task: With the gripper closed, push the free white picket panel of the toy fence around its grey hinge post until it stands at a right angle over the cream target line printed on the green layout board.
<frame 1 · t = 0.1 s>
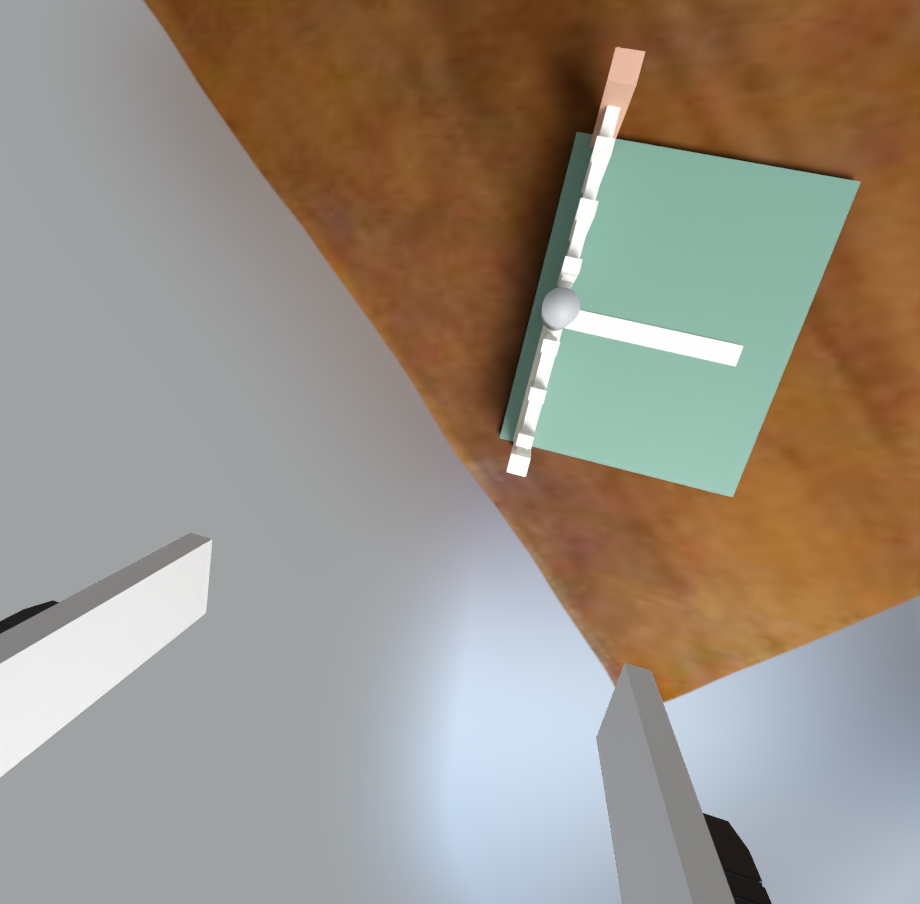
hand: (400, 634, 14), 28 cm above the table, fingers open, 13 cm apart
fixed fence: (555, 316, 37), resting on layout board
layout board: (657, 325, 36), on the table
folding panel: (590, 193, 30), point 5 cm above the table, hinge at 0.0°
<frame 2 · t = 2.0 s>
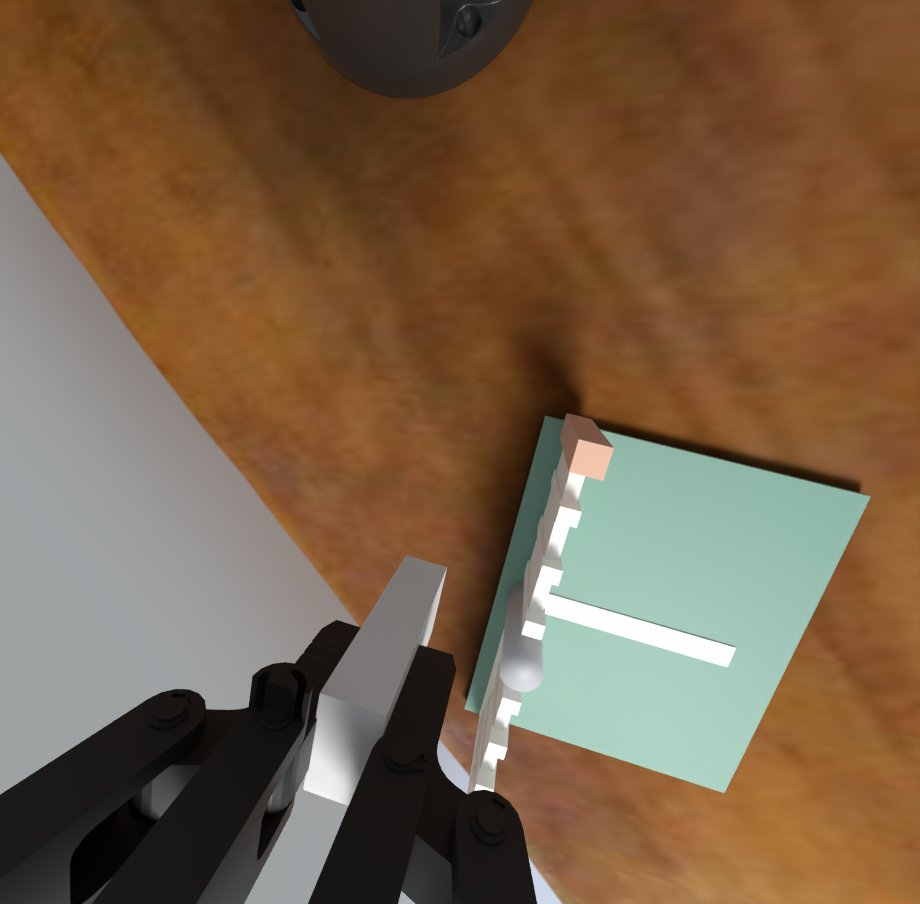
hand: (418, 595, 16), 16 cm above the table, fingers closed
fixed fence: (525, 592, 33), resting on layout board
layout board: (638, 612, 32), on the table
folding panel: (556, 525, 26), point 5 cm above the table, hinge at 0.0°
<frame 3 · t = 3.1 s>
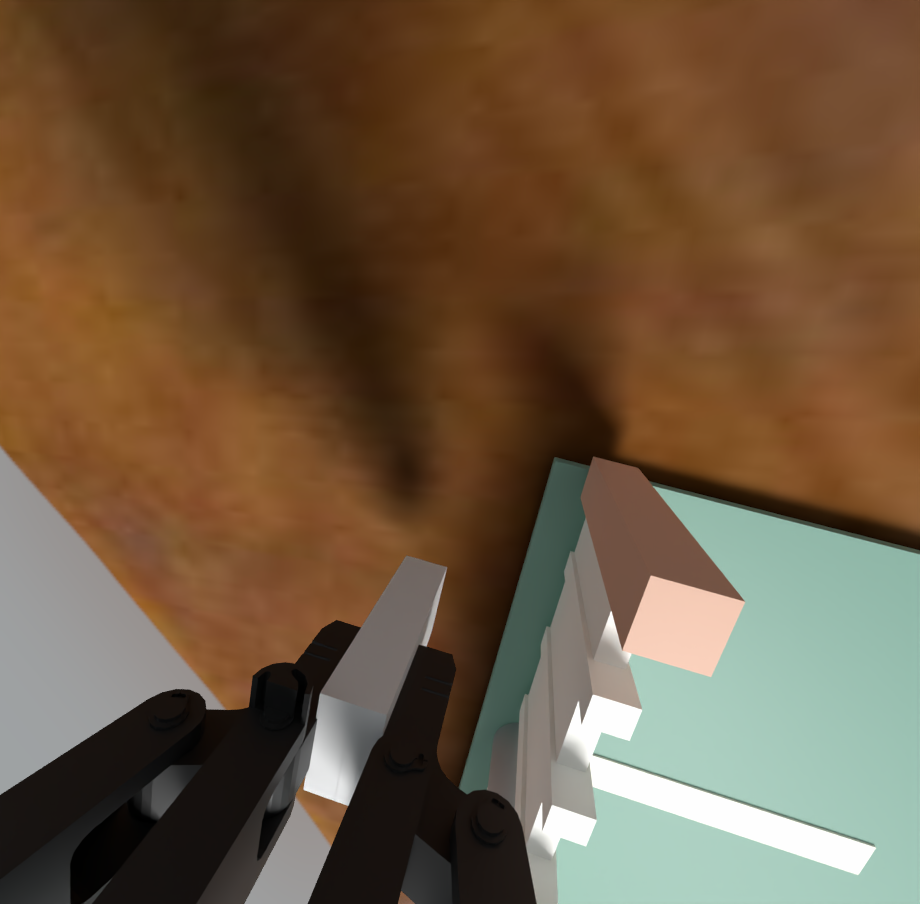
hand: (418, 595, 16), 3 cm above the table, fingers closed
fixed fence: (520, 734, 20), resting on layout board
layout board: (706, 775, 19), on the table
folding panel: (578, 682, 13), point 5 cm above the table, hinge at 0.0°
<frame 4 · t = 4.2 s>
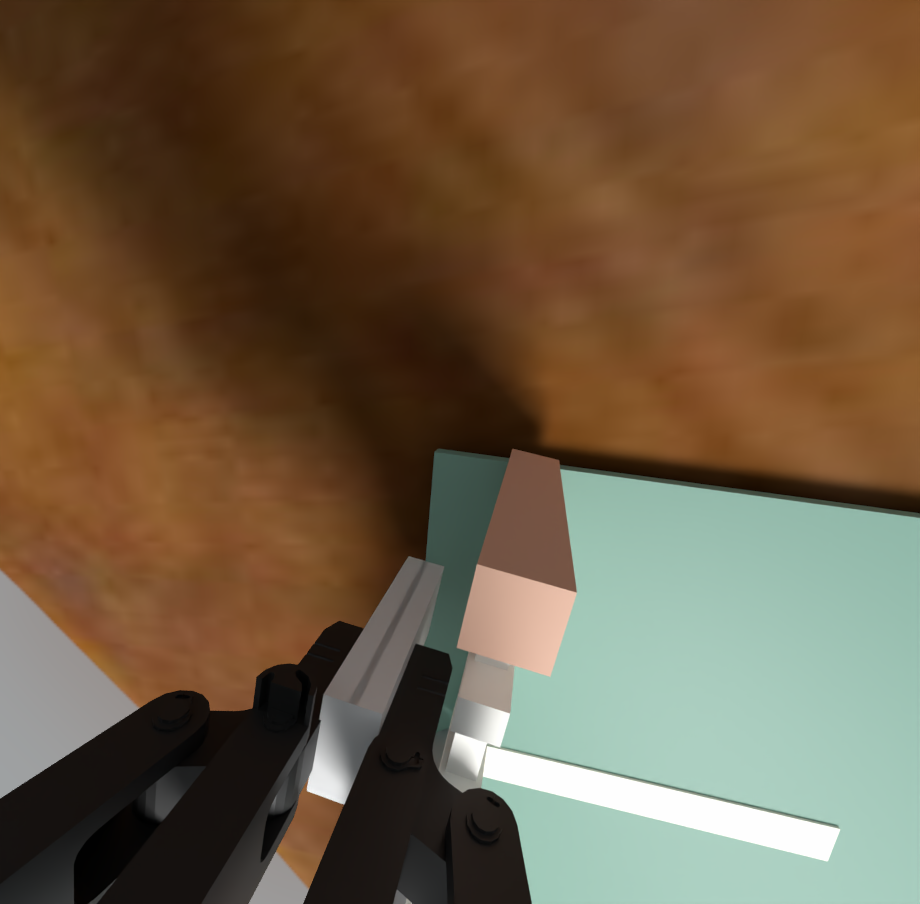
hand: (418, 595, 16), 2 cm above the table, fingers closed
fixed fence: (458, 740, 20), resting on layout board
layout board: (653, 766, 18), on the table
folding panel: (480, 685, 13), point 5 cm above the table, hinge at 6.8°, touching gripper
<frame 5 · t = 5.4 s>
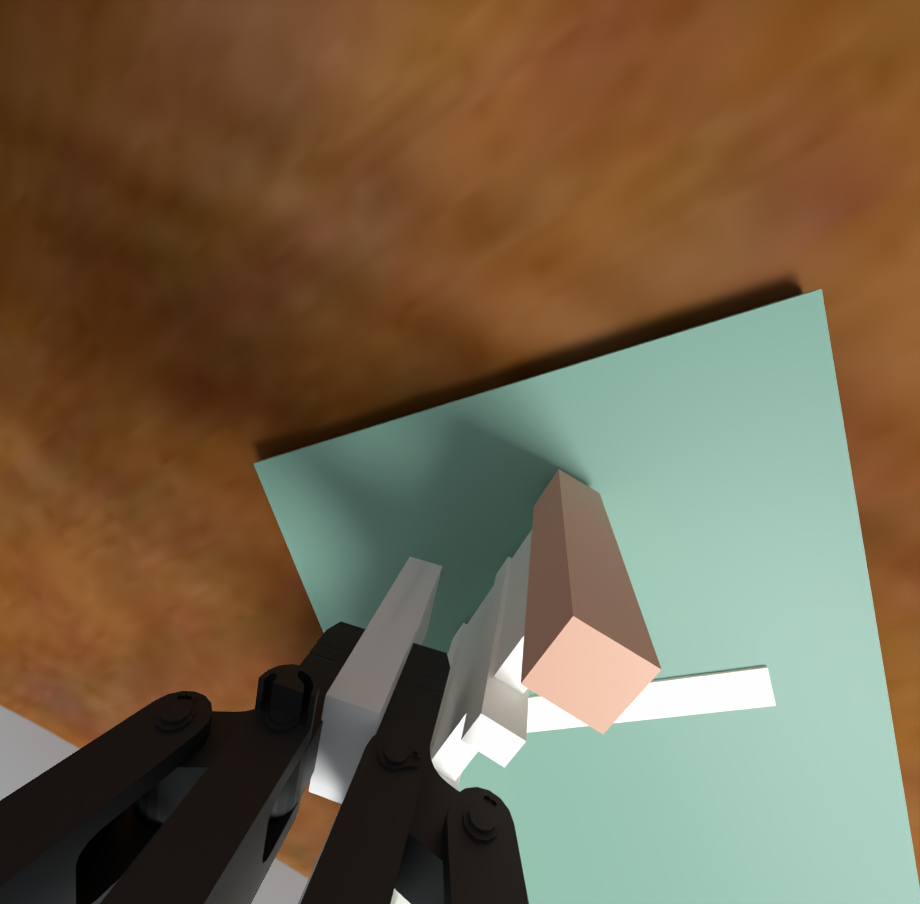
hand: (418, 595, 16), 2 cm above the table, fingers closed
layout board: (580, 674, 18), on the table
folding panel: (475, 690, 13), point 5 cm above the table, hinge at 47.3°, touching gripper
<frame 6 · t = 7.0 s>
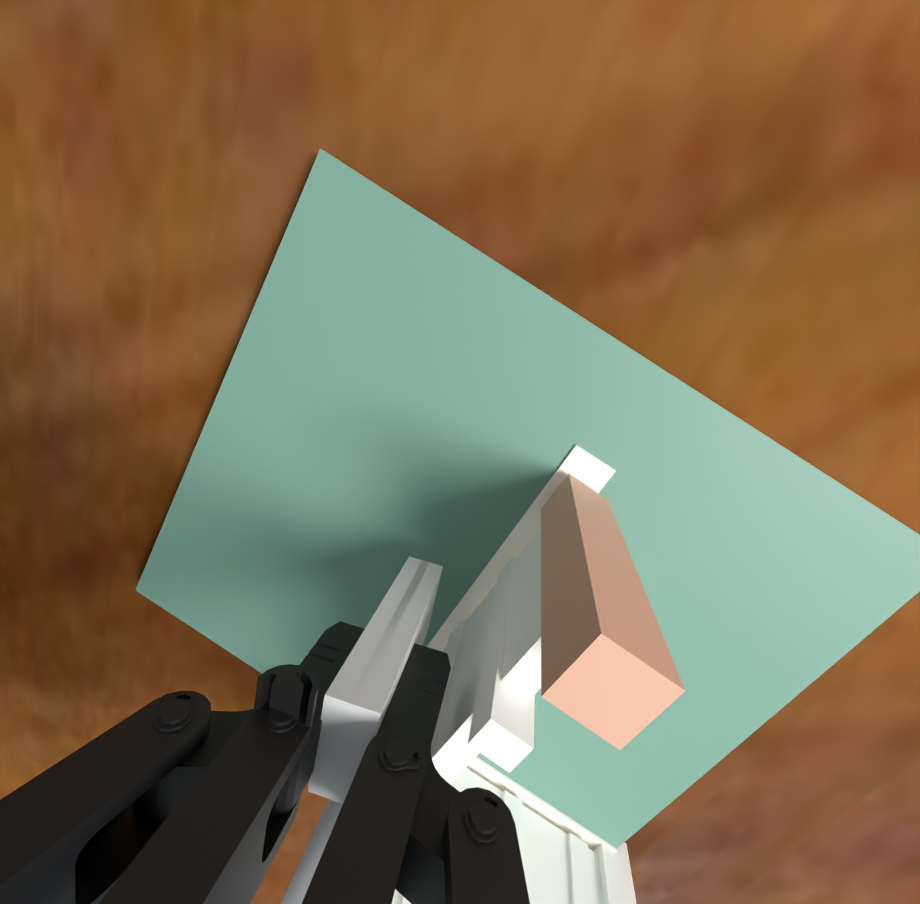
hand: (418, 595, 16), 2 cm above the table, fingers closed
fixed fence: (398, 709, 20), resting on layout board
layout board: (473, 569, 18), on the table
folding panel: (475, 691, 13), point 5 cm above the table, hinge at 91.3°, touching gripper
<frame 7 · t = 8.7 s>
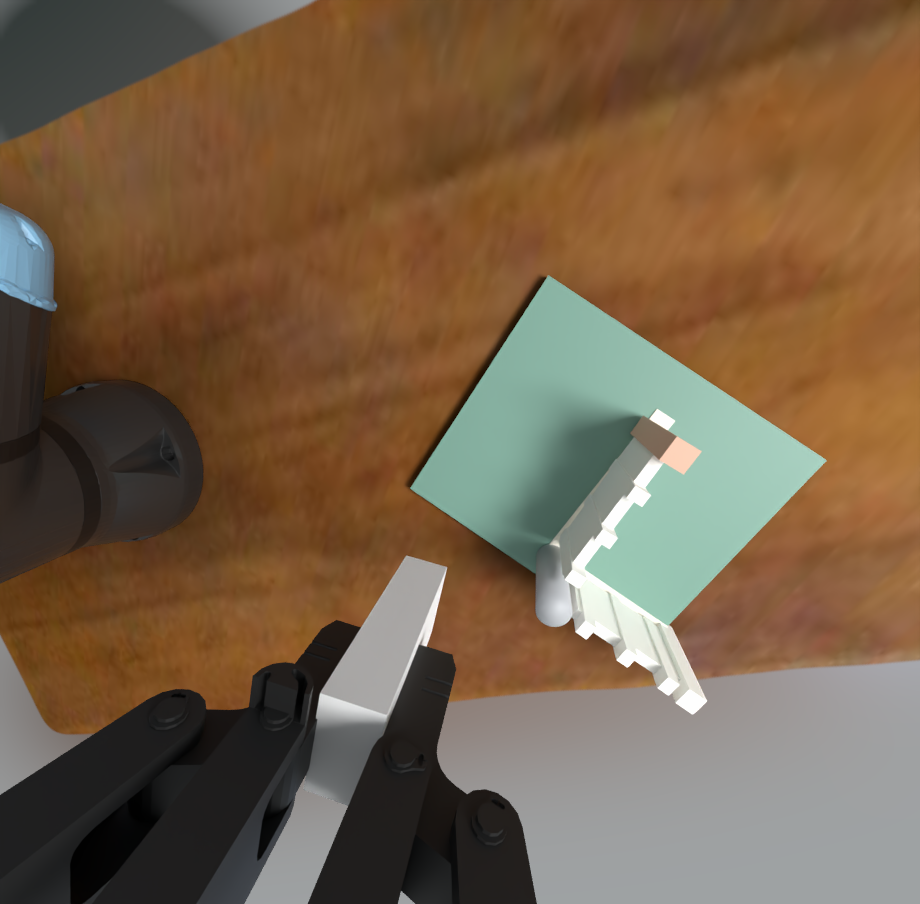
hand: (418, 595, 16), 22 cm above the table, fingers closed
fixed fence: (550, 554, 38), resting on layout board
layout board: (599, 473, 36), on the table
folding panel: (614, 502, 31), point 5 cm above the table, hinge at 87.4°
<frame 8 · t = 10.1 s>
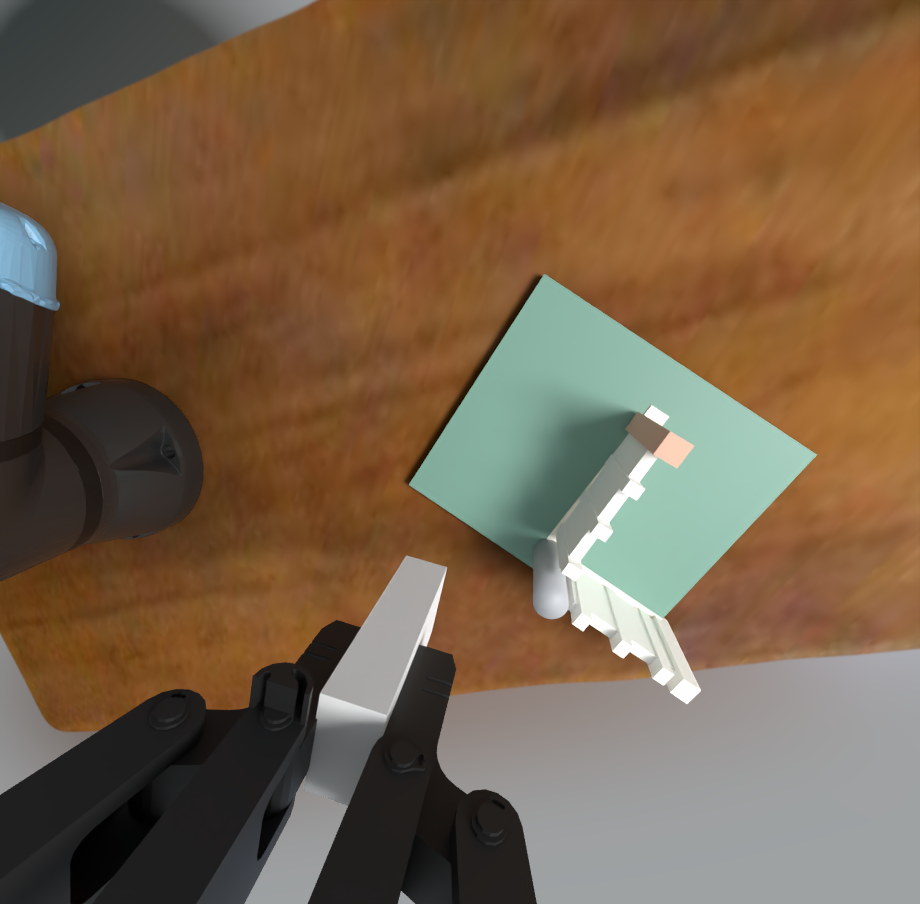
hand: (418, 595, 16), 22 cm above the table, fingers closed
fixed fence: (547, 549, 38), resting on layout board
layout board: (595, 469, 36), on the table
folding panel: (610, 497, 31), point 5 cm above the table, hinge at 87.4°
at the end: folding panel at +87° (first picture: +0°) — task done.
